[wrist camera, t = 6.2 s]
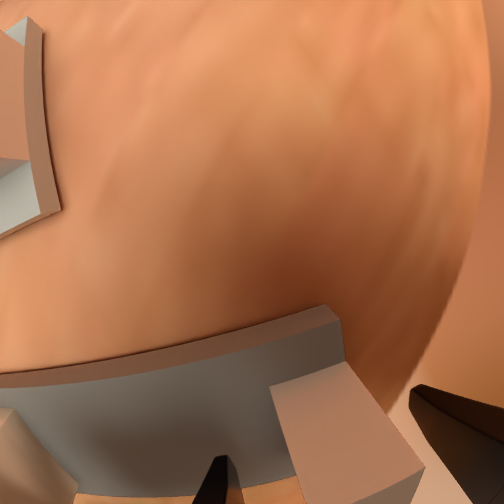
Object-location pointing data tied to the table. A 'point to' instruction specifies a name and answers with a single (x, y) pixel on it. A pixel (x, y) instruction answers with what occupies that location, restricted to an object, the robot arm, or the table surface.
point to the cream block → (29, 467)
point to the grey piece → (222, 417)
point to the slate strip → (23, 131)
